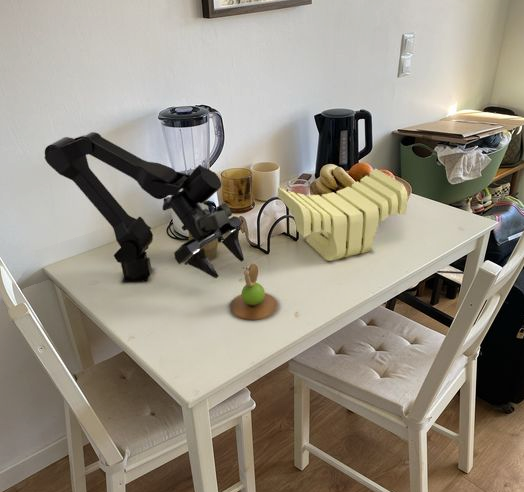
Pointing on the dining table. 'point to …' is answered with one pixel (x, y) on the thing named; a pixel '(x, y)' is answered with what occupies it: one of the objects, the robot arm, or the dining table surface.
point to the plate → (254, 308)
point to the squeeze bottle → (212, 246)
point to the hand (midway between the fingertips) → (230, 268)
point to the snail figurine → (252, 286)
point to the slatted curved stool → (346, 214)
